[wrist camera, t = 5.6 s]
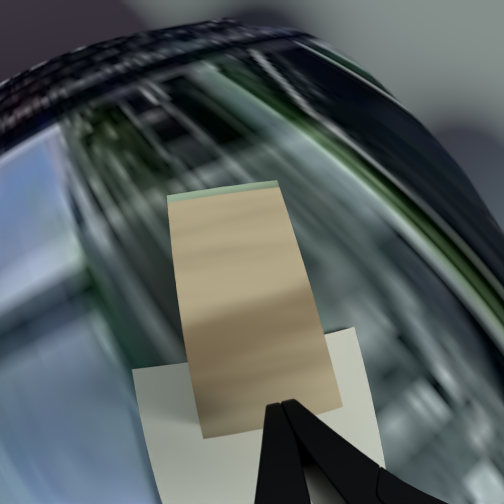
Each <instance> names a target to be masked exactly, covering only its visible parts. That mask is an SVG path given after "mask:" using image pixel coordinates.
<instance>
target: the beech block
mask: <svg viewBox="0 0 504 504" xmlns="http://www.w3.org/2000/svg"><path fill="white" fill-rule="evenodd" d="M167 203H168V215H169V226H170V236H171V246H172V255H173V264H174V272H175V280H176V288H177V295H178V303H179V310H180V317H181V323H182V330H183V336H184V342H185V349H186V354H187V360H188V366H189V372H190V377H191V382H192V388H193V393H194V398H195V403H196V408H197V413H198V417H199V422H200V427H201V431H202V436H203V439H208V438H215V437H221V436H227V435H233V434H238V433H243V432H248V431H253V430H258V429H263V425H264V416H265V407H266V405H267V404H271V403H276V402H279V403H281V402H282V401H284V400H288V399H296V400H297V401H299V402H300V403H301V404H302V405H303V406H304V407H306V408H307V409H308V410H309V411H311V412H312V413H313V414H314V415H318V414H321V413H325V412H328V411H331V410H335V409H338V408H341V407H343V404H342V400H341V396H340V392H339V388H338V385H337V381H336V377H335V373H334V369H333V365H332V362H331V358H330V354H329V350H328V347H327V343H326V339H325V336H324V332H323V329H322V325H321V322H320V318H319V314H318V311H317V307H316V304H315V301H314V297H313V294H312V290H311V287H310V283H309V280H308V277H307V273H306V270H305V267H304V263H303V260H302V257H301V254H300V250H299V247H298V244H297V241H296V238H295V234H294V231H293V228H292V225H291V222H290V219H289V216H288V212H287V209H286V206H285V203H284V200H283V197H282V194H281V191H280V188H279V185H278V182H277V180H276V181H267V182H258V183H250V184H243V185H235V186H228V187H220V188H213V189H206V190H200V191H193V192H187V193H180V194H174V195H168V196H167Z"/></svg>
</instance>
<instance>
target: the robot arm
mask: <svg viewBox="0 0 504 504" xmlns="http://www.w3.org/2000/svg"><path fill="white" fill-rule="evenodd" d="M311 502H312V504H448V503H446V502H443V501H441V500H439V499H437V498H435V497H433V496H431V495H428V494H426V493H424V492H422V491H420V490H418V489H416V488H414V487H413V486H411V485H409V484H407V483H405V482H404V481H402V480H401V479H399V478H397V477H396V476H394V475H393V474H391V473H390V472H389V471H387V470H386V469H384V468H383V467H380V465H379V464H377V463H376V462H375V461H373V460H372V459H371V458H369V457H368V456H366V455H365V454H364V453H362V452H361V451H360V450H358V449H357V448H356V447H355V446H353V445H352V444H351V443H349V442H348V441H347V440H345V439H344V438H343V437H342V436H340V435H339V434H338V433H337V432H335V431H334V430H333V429H331V428H330V427H329V426H328V425H326V424H325V423H324V422H323V421H322V420H320V419H319V418H318V417H317V416H315V415H314V414H313V413H312V412H311V411H309V410H308V409H307V408H306V407H304V406H303V405H302V404H301V403H300V402H299V401H297V400H296V399H288V400H284V401H282V402H281V403H279V402H276V403H271V404H267V405H266V407H265V416H264V425H263V434H262V443H261V451H260V460H259V468H258V476H257V484H256V492H255V499H254V504H311Z"/></svg>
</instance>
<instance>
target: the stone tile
mask: <svg viewBox="0 0 504 504" xmlns="http://www.w3.org/2000/svg"><path fill="white" fill-rule="evenodd" d="M324 336H325V339H326V343H327V347H328V350H329V354H330V358H331V362H332V365H333V369H334V373H335V377H336V381H337V385H338V388H339V392H340V396H341V400H342V404H343V407H341V408H338V409H335V410H331V411H328V412H325V413H321V414H318V415H315V416H317V417H318V418H319V419H320V420H322V421H323V422H324V423H325V424H326V425H328V426H329V427H330V428H331V429H333V430H334V431H335V432H337V433H338V434H339V435H340V436H342V437H343V438H344V439H345V440H347V441H348V442H349V443H351V444H352V445H353V446H355V447H356V448H357V449H358V450H360V451H361V452H362V453H364V454H365V455H366V456H368V457H369V458H371V459H372V460H373V461H375V462H376V463H377V464H379V465H380V467H383V468H384V469H386V468H385V463H384V457H383V451H382V446H381V441H380V436H379V431H378V426H377V421H376V416H375V411H374V407H373V402H372V398H371V393H370V389H369V384H368V380H367V376H366V372H365V368H364V363H363V359H362V355H361V351H360V348H359V344H358V340H357V336H356V332H355V329H354V327H352V328H349V329H345V330H341V331H337V332H334V333H330V334H326V335H324ZM132 373H133V379H134V385H135V391H136V397H137V402H138V408H139V413H140V418H141V423H142V427H143V432H144V437H145V441H146V445H147V449H148V454H149V458H150V462H151V466H152V469H153V473H154V477H155V480H156V484H157V488H158V491H159V494H160V498H161V501H162V504H254V499H255V492H256V484H257V476H258V468H259V460H260V451H261V443H262V434H263V429H258V430H253V431H248V432H243V433H238V434H233V435H227V436H221V437H215V438H208V439H203V436H202V431H201V427H200V422H199V417H198V413H197V408H196V403H195V398H194V393H193V388H192V382H191V377H190V372H189V366H188V362H185V363H178V364H171V365H164V366H156V367H148V368H139V369H132ZM311 504H312V502H311Z"/></svg>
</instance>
